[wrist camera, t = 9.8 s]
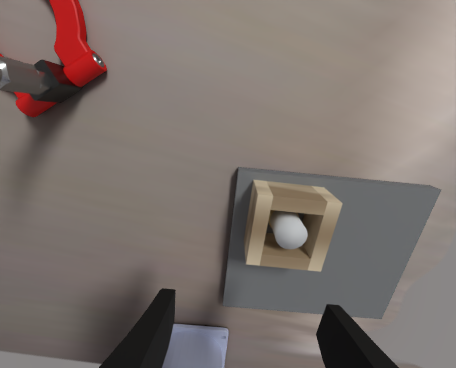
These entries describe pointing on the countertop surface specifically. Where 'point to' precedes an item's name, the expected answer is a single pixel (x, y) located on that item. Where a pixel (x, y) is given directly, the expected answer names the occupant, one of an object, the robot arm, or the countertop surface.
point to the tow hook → (54, 65)
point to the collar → (313, 221)
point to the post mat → (331, 246)
